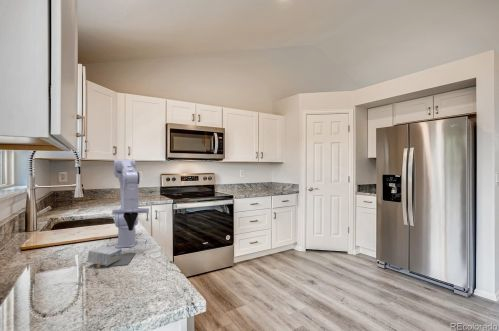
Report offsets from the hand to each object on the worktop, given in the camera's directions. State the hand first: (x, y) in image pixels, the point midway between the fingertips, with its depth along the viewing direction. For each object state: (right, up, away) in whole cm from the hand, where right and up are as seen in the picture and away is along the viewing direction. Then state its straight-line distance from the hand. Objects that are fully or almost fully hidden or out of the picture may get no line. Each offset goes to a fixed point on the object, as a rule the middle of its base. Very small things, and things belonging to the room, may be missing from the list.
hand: (130, 230), depth 109 cm
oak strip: (-6, -10, -10) cm, 15 cm away
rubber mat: (-1, -10, -7) cm, 13 cm away
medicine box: (-9, -6, -11) cm, 16 cm away
